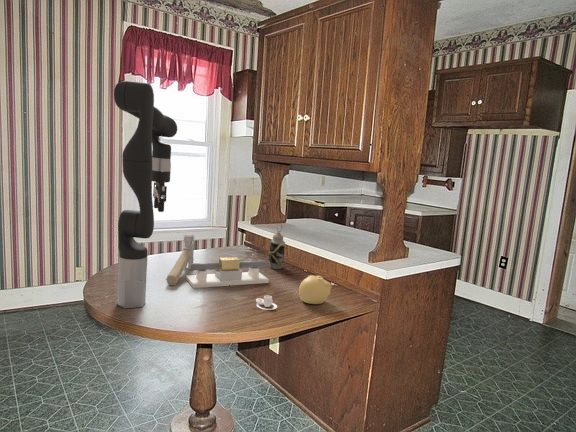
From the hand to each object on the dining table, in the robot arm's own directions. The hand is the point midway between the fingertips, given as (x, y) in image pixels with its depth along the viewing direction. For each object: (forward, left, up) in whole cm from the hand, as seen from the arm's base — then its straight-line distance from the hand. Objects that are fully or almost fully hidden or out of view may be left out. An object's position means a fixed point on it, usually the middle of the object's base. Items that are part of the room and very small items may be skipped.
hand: (158, 209), depth 166 cm
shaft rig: (-5, -30, -30) cm, 43 cm away
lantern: (+11, -61, -30) cm, 69 cm away
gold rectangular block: (-5, -30, -26) cm, 40 cm away
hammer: (+6, -12, -30) cm, 33 cm away
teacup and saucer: (-33, -37, -31) cm, 58 cm away
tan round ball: (-36, -55, -30) cm, 72 cm away
